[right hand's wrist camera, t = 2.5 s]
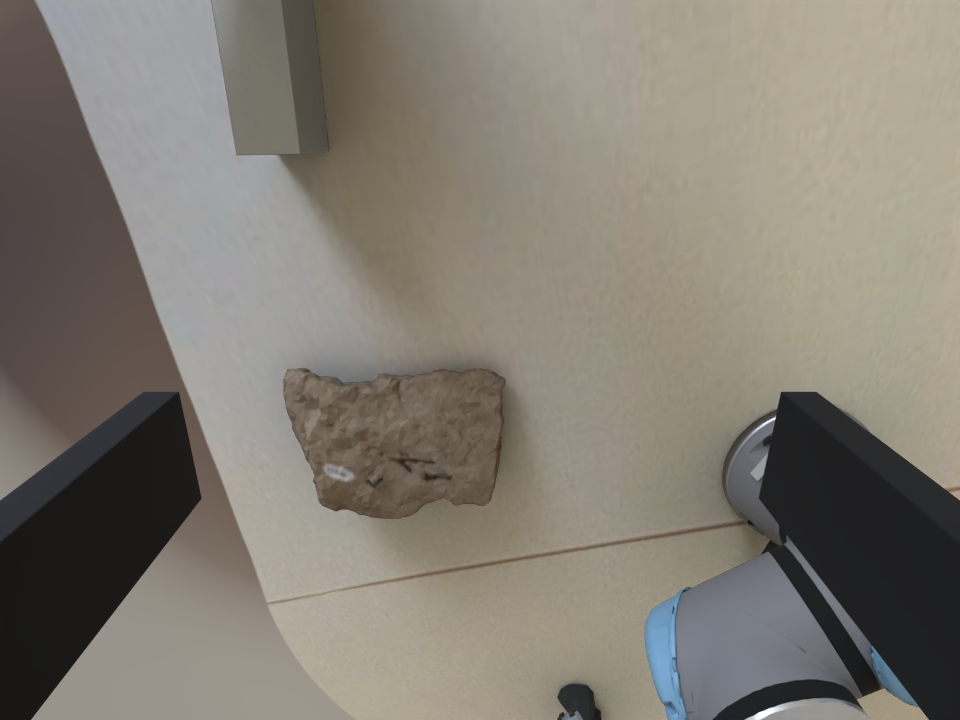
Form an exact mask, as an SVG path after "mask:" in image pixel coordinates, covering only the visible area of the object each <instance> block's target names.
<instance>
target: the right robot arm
mask: <svg viewBox="0 0 960 720" xmlns="http://www.w3.org/2000/svg"><path fill="white" fill-rule="evenodd" d="M722 479H723V488H724V492H725V495H726V497H727V499H728V501H729V503H730V504H731V506H732V507H733V509H734V510H735V512H736V513H737V514H738V516H739V517H740V518H741V519H742V520H743V521H744V522H745V523H746V524H747V525H749V526H750V527H751V528H753V529H754V530H756V531H757V532H759V533H761V534H763V535H765V536H766V537H767V538H768V539H770V541H769V543H768V544H767V546H766V548H765V549H764V551H763V552H762V554H761V555H760V556H758V557H756V558H753V559H751V560H749V561H747V562H745V563H743V564H741V565H739V566H737V567H735V568H733V569H730V570H728V571H726V572H724V573H722V574H720V575H718V576H716V577H714V578H712V579H710V580H707V581H705V582H703V583H701V584H699V585H697V586H695V587H693V588H690V587H687V588H684V589H682V590H681V591H680V592H679V593H678V594H677V595H676V596H674V597H672V598H671V599H669V600H667V601H665V602H663V603H661V604H659V605H657V606H656V607H655V608H654V609H652V611H651V612H650V614H649V617H648V618H647V620H646V623H645V646H646V652H647V657H648V662H649V666H650V670H651V673H652V677H653V680H654V684H655V687H656V690H657V693H658V695H659V698H660V700H661V702H662V703H663V704H664V705H665V709H666V713H667V717H668V720H869V718H868V716H867V714H866V713H865V712H864V710H863V709H862V707H861V706H860V704H859V703H858V701H857V699H859V698H861V697H864V696H866V695H868V694H871V693H873V692H876V691H878V690H881V689H884V688H885V689H886V690H887V691H888V692H889V693H891V694H892V695H894V696H896V697H897V698H899V699H900V700H902V701H903V702H905V703H907V704H910V705H913V706H916V707H920V709H921V710H922V711H923V712H924V714H925V715H926V716H927V718H928V719H929V720H960V500H958V499H957V498H956V497H954V496H953V495H952V494H950V493H949V492H948V491H946V490H945V489H944V488H942V487H941V486H940V485H939V484H937V483H936V482H935V481H933V480H932V479H931V478H929V477H928V476H927V475H925V474H924V473H923V472H921V471H920V470H919V469H917V468H916V467H915V466H913V465H912V464H911V463H909V462H908V461H907V460H906V459H904V458H903V457H902V456H900V455H899V454H898V453H896V452H895V451H894V450H892V449H891V448H890V447H888V446H887V445H886V444H884V443H883V442H882V441H880V440H879V439H878V438H876V437H875V436H874V435H873V434H871V433H870V432H869V431H868V430H867V428H866V427H865V426H864V425H863V424H862V423H860V422H859V421H858V420H856V419H855V418H854V417H852V416H851V415H850V414H848V413H847V412H845V411H843V410H841V409H839V408H837V407H836V406H834V405H833V404H832V403H830V402H829V401H828V400H826V399H825V398H824V397H822V396H821V395H820V394H818V393H817V392H781V395H780V400H779V404H778V409H777V410H776V411H773V412H771V413H769V414H767V415H765V416H763V417H762V418H760V419H758V420H757V421H756V422H754V423H753V424H752V425H750V426H749V427H748V428H747V429H746V430H745V431H744V432H743V433H742V434H741V435H740V436H739V437H738V439H737V440H736V441H735V443H734V444H733V446H732V447H731V449H730V451H729V453H728V455H727V457H726V460H725V463H724V468H723V475H722ZM200 500H201V494H200V489H199V484H198V480H197V475H196V470H195V466H194V461H193V456H192V452H191V447H190V442H189V437H188V433H187V428H186V423H185V418H184V414H183V409H182V405H181V400H180V395H179V392H143V393H142V394H140V395H139V396H138V397H136V398H135V399H134V400H132V401H131V402H130V403H128V404H127V405H126V406H124V407H123V408H122V409H120V410H119V411H118V412H117V413H115V414H114V415H113V416H111V417H110V418H109V419H107V420H106V421H105V422H103V423H102V424H101V425H99V426H98V427H97V428H95V429H94V430H93V431H91V432H90V433H89V434H88V435H86V436H85V437H84V438H82V439H81V440H80V441H78V442H77V443H76V444H74V445H73V446H72V447H70V448H69V449H68V450H66V451H65V452H64V453H62V454H61V455H60V456H58V457H57V458H56V459H54V460H53V461H52V462H51V463H49V464H48V465H47V466H45V467H44V468H43V469H41V470H40V471H39V472H37V473H36V474H35V475H33V476H32V477H31V478H29V479H28V480H27V481H25V482H24V483H23V484H21V485H20V486H19V487H18V488H16V489H15V490H14V491H12V492H11V493H10V494H8V495H7V496H6V497H4V498H3V499H2V500H0V720H31V719H32V718H33V716H34V715H35V714H36V712H37V711H38V710H39V709H40V707H41V706H42V705H43V703H44V702H45V701H46V700H47V698H48V697H49V696H50V694H51V693H52V692H53V690H54V689H55V688H56V687H57V685H58V684H59V683H60V681H61V680H62V679H63V677H64V676H65V675H66V674H67V672H68V671H69V670H70V668H71V667H72V666H73V664H74V663H75V662H76V661H77V659H78V658H79V657H80V655H81V654H82V653H83V651H84V650H85V649H86V648H87V646H88V645H89V644H90V642H91V641H92V640H93V639H94V637H95V636H96V635H97V633H98V632H99V631H100V629H101V628H102V627H103V626H104V624H105V623H106V622H107V620H108V619H109V618H110V616H111V615H112V614H113V613H114V611H115V610H116V609H117V607H118V606H119V605H120V604H121V602H122V601H123V600H124V598H125V597H126V596H127V594H128V593H129V592H130V591H131V589H132V588H133V587H134V585H135V584H136V583H137V581H138V580H139V579H140V577H141V576H142V575H143V574H144V572H145V571H146V570H147V569H148V567H149V566H150V565H151V563H152V562H153V561H154V559H155V558H156V557H157V556H158V554H159V553H160V552H161V550H162V549H163V548H164V546H165V545H166V544H167V543H168V541H169V540H170V539H171V537H172V536H173V535H174V533H175V532H176V531H177V530H178V528H179V527H180V526H181V524H182V523H183V522H184V521H185V519H186V518H187V517H188V515H189V514H190V513H191V511H192V510H193V509H194V507H195V506H196V505H197V504H198V502H199V501H200Z"/></svg>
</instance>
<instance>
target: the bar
mask: <svg viewBox="0 0 960 720" xmlns="http://www.w3.org/2000/svg"><path fill="white" fill-rule="evenodd" d="M211 2H212V8H213V14H214V20H215V26H216V32H217V39H218V45H219V51H220V57H221V63H222V69H223V75H224V81H225V87H226V93H227V100H228V106H229V112H230V118H231V124H232V130H233V136H234V142H235V148H236V154H237V155H276V154H306V153H317V152H327V151H329V145H328V136H327V127H326V117H325V108H324V99H323V89H322V80H321V71H320V62H319V52H318V43H317V34H316V24H315V15H314V6H313V0H211Z"/></svg>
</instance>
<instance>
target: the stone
mask: <svg viewBox="0 0 960 720" xmlns="http://www.w3.org/2000/svg"><path fill="white" fill-rule="evenodd" d="M505 380H506V379H505V378H503V377H501V376H499V375H497V374H496V373H495V372H493V371H492V372H491V371H489V370H484V369H473V370H467V371H464V372H462V373H458V372H456V371H449V370H445V369H441V370H436V371H433V372H431V373H427V374H420V375H416V376H411V375H405V376H396V375H389V374H380V375H379V376H378V378H377V379H376V380H375V381H373V382H369V381H364V382H361V383H358V382H353V383H351V382H348V383H343V382H341V381H339V380H338V379H337V378H334V377H329V376H318V375H316V374H314V373H311V372H310V370H308V369H306V368H299V369H288V370H287V372H286V375H285V377H284V399H285V402H286V409H287V412H288V415H289V418H290V419H291V421H292V429H293V431H294V433H295V436H296V438H297V439H298V441H299V442H300V444H301V447H302V450H303V452H304V455H305V458H306V460H307V461H308V462H309V463H310V466H311V468H312V470H313V473H314V476H315V477H314V480H313V482H314V483H315V484H316V490H317V495H318V500H319V502H320V504H322V506H324V507H327V508H329V509H332V510H334V511H339V510H342V509H348V510H351V511H354V512H356V513H358V514H359V515H366V516H369V517H374V518H387V519H397V518H401V517H406V516H410V515H413V514H414V513H416V512H417V511H418V510H419V509H420V508H421V507H422V506H423V505H425V504H427V503H430V502H433V501H435V500H437V499H441V498H445V499H447V500H450V501H451V502H452V503H453V504H454V505H460V504H466V503H467V504H476V505H479V506H483V505H485V504H487V503H489V501H490V500H491V498H492V492H493V489H494V487H495V481H496V477H497V472H498V465H499V457H500V449H501V436H500V434H501V430H502V426H503V423H504V419H503V416H502V405H503V404H502V388H503V387H504V385H505Z"/></svg>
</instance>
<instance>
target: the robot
mask: <svg viewBox="0 0 960 720" xmlns="http://www.w3.org/2000/svg"><path fill="white" fill-rule="evenodd" d="M558 699H559V701H560V703H561V704H562V706H563V707H564V708H565V709H566V711H567V712H568V714H566V715H564V712H562V713H561V714H559V717H558V718H557V720H601V712H600V710H598V709H596V708H595V702H594V696H593V692H592V691H591V689H590V688H589V687H588V686H585V685H577V684H573V685H568V686H566V687H564V688H562V689H561V691H560V693H559V695H558Z"/></svg>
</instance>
